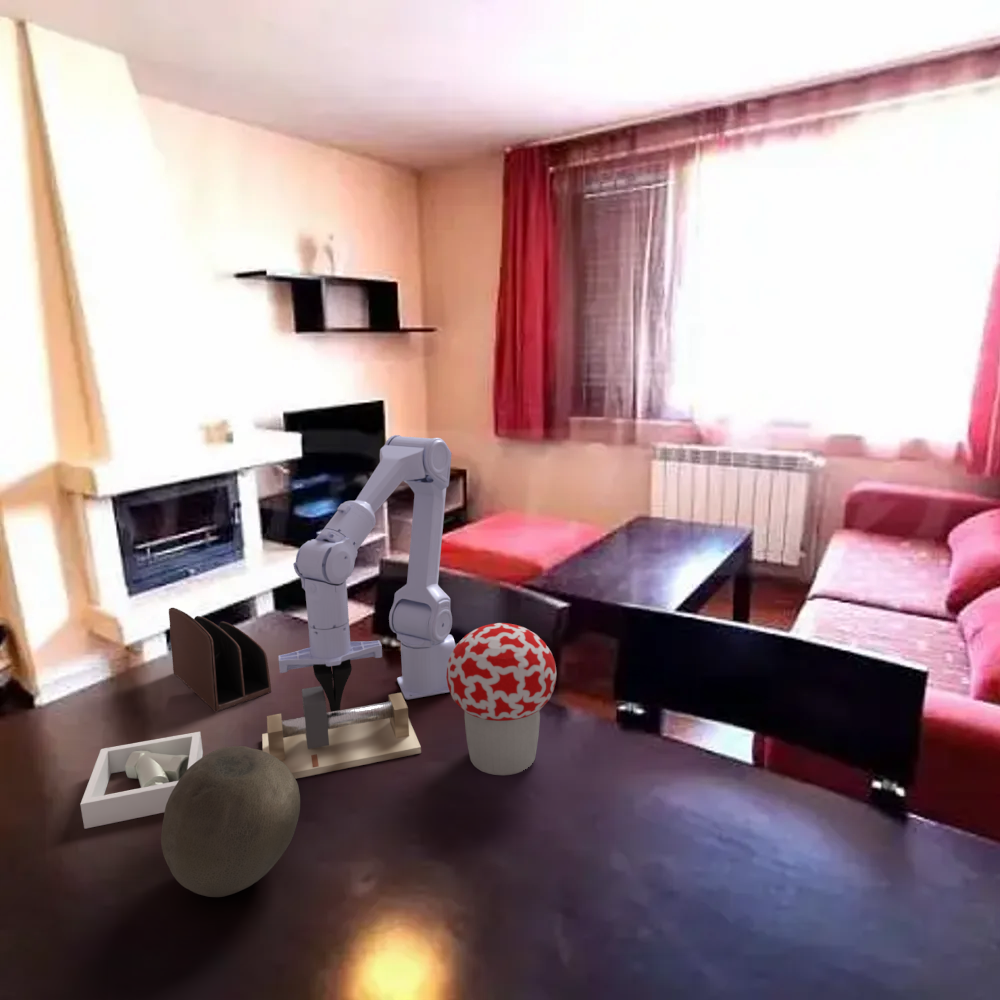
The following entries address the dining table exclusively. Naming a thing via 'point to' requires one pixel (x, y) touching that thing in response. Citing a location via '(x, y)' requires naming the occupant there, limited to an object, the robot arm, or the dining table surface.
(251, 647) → the letter holder
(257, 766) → the kiwi fruit
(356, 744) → the pipe stand
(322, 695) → the collar
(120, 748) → the parts frame
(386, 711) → the pipe
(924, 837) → the dining table surface
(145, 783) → the pipe fitting
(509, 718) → the decorative object
